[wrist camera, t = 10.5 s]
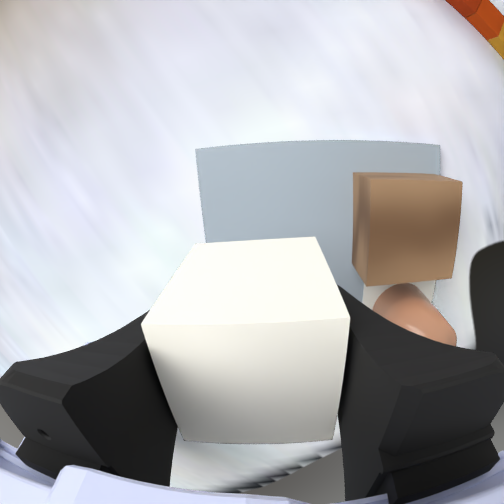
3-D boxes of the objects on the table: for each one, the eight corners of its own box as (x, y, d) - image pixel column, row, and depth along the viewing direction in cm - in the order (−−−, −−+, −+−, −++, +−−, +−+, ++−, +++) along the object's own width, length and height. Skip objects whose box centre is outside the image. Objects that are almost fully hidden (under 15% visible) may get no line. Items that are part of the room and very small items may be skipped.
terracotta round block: (417, 329, 21) (445, 373, 16) (368, 336, 21) (389, 385, 16) (427, 280, 20) (464, 318, 14) (375, 285, 20) (403, 329, 15)
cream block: (314, 336, 13) (332, 439, 7) (211, 340, 13) (183, 440, 8) (315, 236, 11) (350, 317, 6) (194, 243, 11) (140, 324, 6)
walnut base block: (428, 257, 19) (451, 278, 16) (351, 263, 20) (366, 286, 16) (434, 173, 17) (462, 181, 14) (352, 172, 17) (370, 179, 14)
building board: (413, 358, 23) (416, 363, 22) (228, 374, 24) (227, 380, 24) (441, 145, 17) (446, 145, 16) (197, 148, 18) (194, 149, 17)
